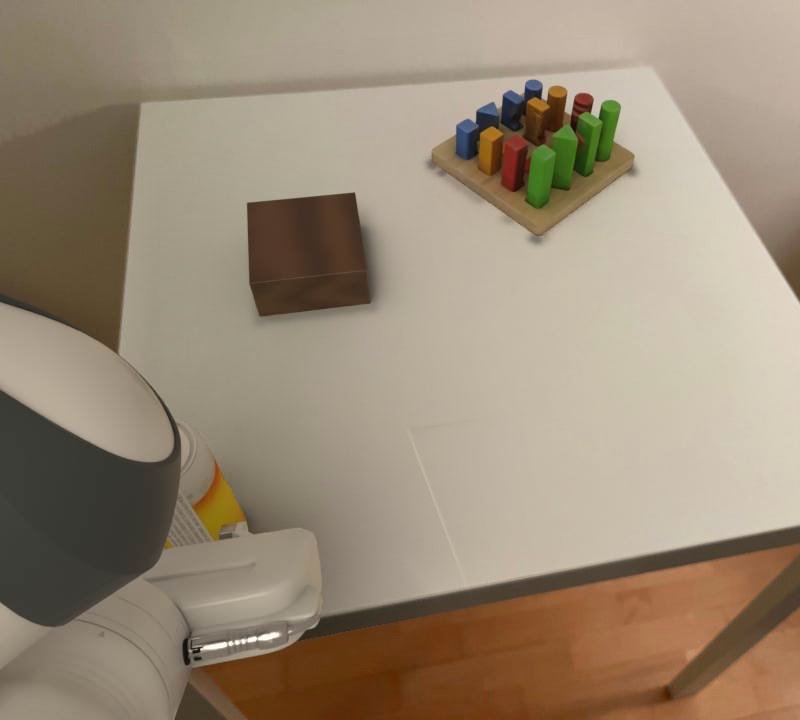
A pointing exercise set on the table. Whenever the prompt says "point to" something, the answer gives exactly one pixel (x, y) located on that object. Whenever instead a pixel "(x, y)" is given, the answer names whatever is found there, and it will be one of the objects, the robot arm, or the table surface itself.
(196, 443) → the orange beverage can
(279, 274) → the walnut block
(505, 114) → the peg board
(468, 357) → the table surface
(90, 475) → the robot arm
